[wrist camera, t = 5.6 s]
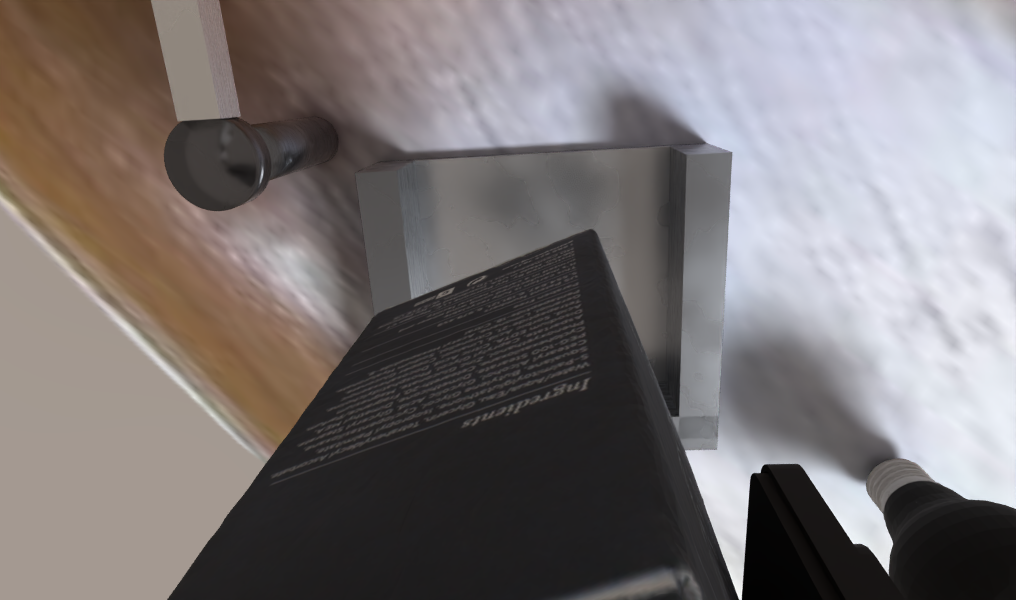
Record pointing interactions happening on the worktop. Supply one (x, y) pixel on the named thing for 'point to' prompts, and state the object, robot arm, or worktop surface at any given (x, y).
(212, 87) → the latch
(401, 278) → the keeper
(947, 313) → the worktop surface
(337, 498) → the box
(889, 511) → the light bulb
